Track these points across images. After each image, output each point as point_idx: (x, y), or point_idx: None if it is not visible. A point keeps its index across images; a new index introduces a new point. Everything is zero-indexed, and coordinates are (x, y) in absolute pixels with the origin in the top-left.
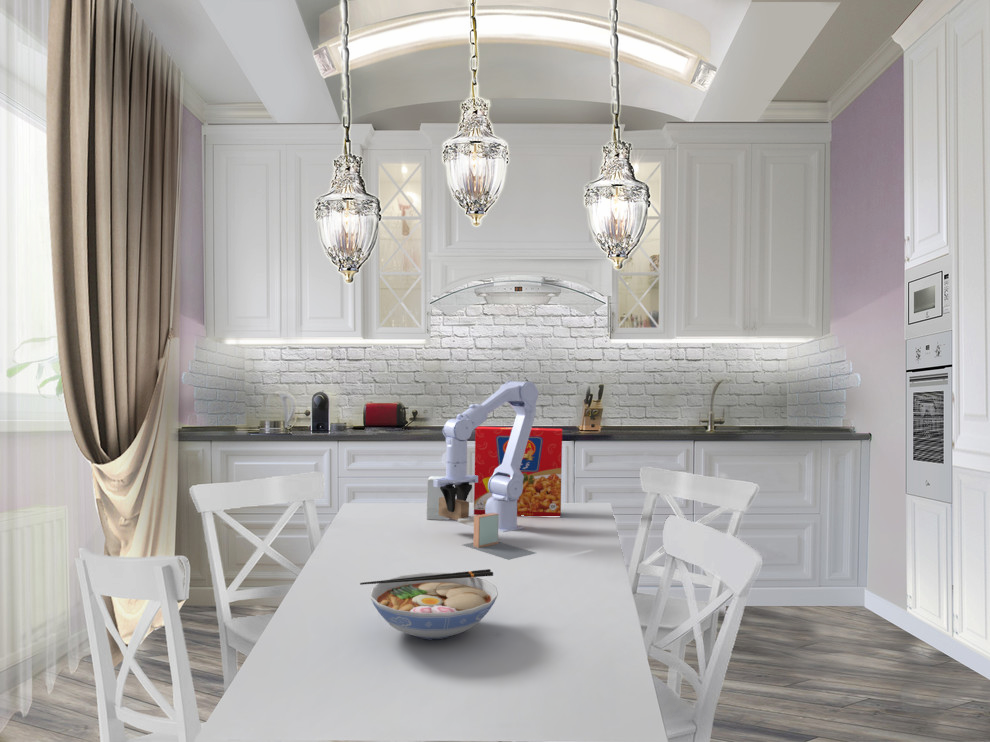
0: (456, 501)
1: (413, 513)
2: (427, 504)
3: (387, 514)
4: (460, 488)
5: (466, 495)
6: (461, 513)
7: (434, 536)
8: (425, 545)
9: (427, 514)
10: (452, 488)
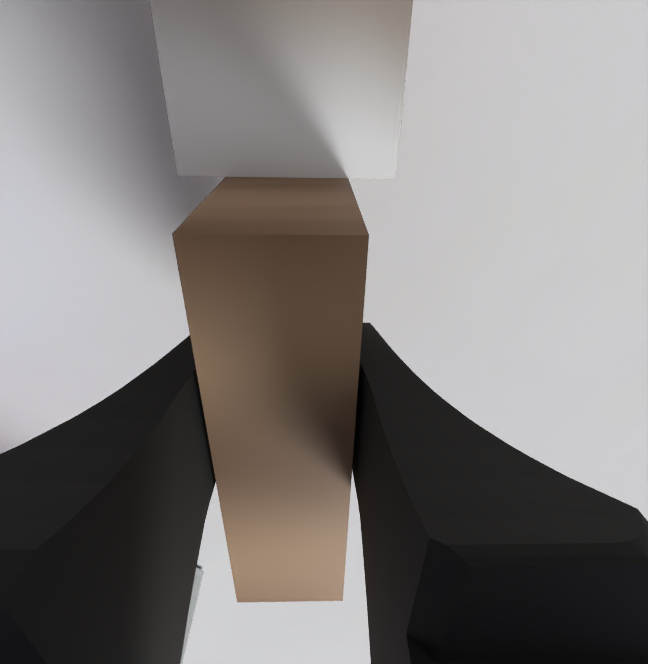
0: (330, 382)
1: (194, 637)
2: (183, 648)
3: (288, 656)
4: (142, 624)
5: (105, 422)
6: (344, 190)
7: (388, 339)
8: (605, 198)
9: (195, 592)
10: (640, 580)
